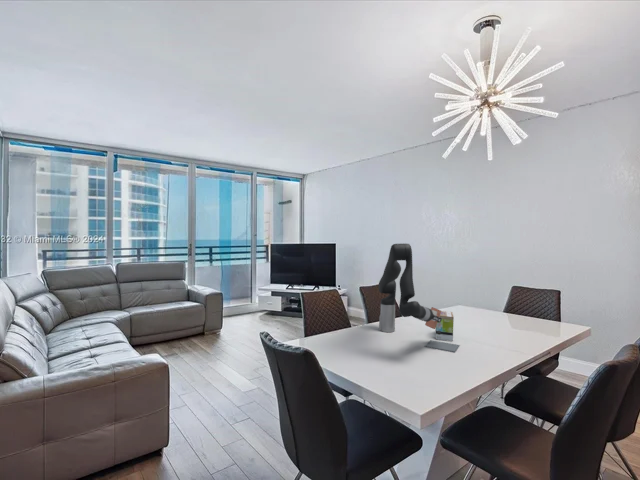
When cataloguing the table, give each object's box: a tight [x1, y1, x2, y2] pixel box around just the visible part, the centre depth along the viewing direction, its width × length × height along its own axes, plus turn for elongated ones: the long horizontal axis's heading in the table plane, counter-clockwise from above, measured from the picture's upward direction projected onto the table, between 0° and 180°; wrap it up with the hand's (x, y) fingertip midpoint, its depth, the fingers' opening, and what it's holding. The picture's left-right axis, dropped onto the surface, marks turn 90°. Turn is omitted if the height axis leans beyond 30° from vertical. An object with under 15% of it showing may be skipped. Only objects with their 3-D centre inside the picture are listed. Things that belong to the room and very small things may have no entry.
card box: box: [424, 307, 443, 330], centre depth 193 cm, size 3×5×11 cm, turn 44°
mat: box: [423, 339, 460, 353], centre depth 188 cm, size 16×13×1 cm
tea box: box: [434, 310, 455, 342], centre depth 206 cm, size 15×10×15 cm, turn 161°
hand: (435, 317), depth 195 cm, fingers closed on card box, 5 cm apart
